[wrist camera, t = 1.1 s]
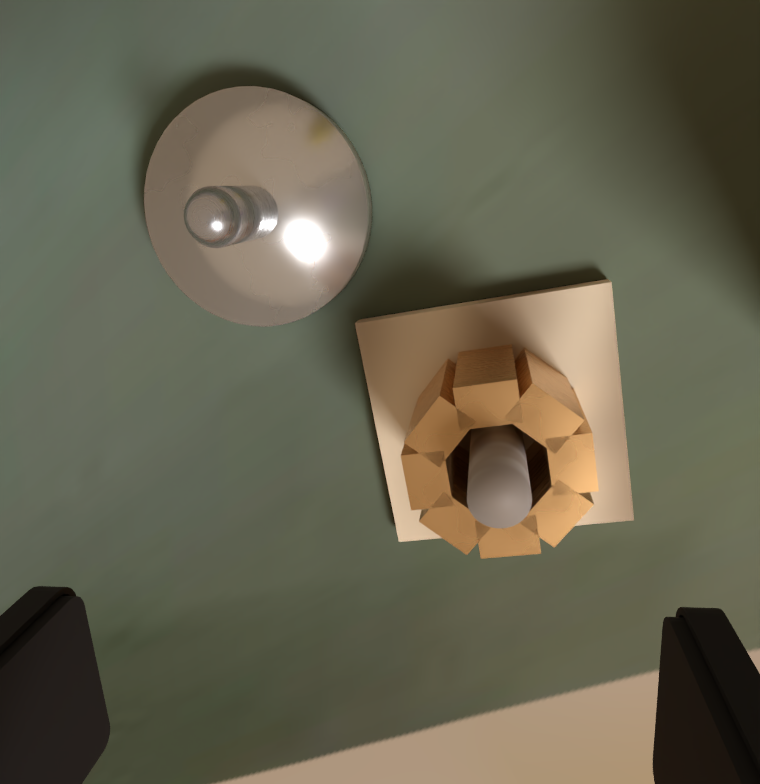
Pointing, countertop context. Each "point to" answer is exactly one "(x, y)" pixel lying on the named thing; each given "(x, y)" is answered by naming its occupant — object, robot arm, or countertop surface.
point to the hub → (257, 205)
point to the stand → (507, 442)
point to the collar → (494, 408)
